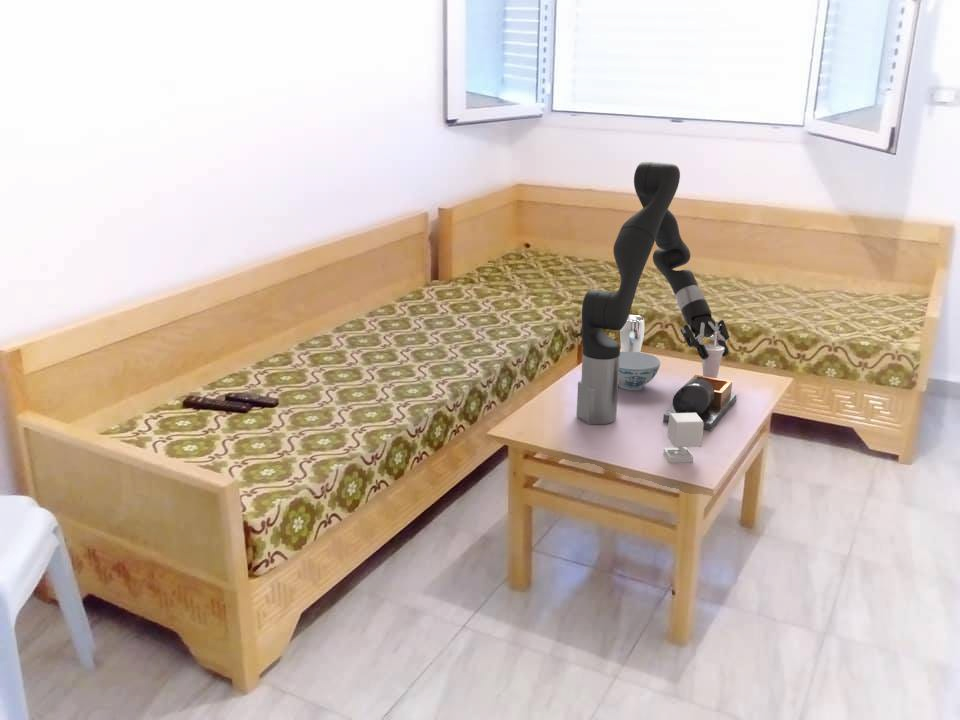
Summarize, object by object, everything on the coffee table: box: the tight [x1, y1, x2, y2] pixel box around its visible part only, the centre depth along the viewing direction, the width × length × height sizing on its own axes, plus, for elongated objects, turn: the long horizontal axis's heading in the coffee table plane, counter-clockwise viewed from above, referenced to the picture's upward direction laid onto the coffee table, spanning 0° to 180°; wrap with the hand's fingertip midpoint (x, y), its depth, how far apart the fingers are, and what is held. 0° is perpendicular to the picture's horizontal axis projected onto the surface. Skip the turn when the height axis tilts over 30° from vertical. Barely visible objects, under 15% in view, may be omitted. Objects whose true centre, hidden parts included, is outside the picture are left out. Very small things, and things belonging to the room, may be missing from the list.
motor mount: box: [663, 374, 737, 432], centre depth 233 cm, size 24×12×10 cm, turn 150°
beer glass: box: [619, 314, 645, 352], centre depth 265 cm, size 7×7×15 cm
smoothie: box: [701, 332, 724, 379], centre depth 251 cm, size 6×6×14 cm
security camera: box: [663, 413, 704, 464], centre depth 206 cm, size 6×7×10 cm
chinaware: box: [618, 351, 661, 391], centre depth 251 cm, size 15×15×8 cm
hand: (715, 356), depth 249 cm, fingers closed on smoothie, 6 cm apart
